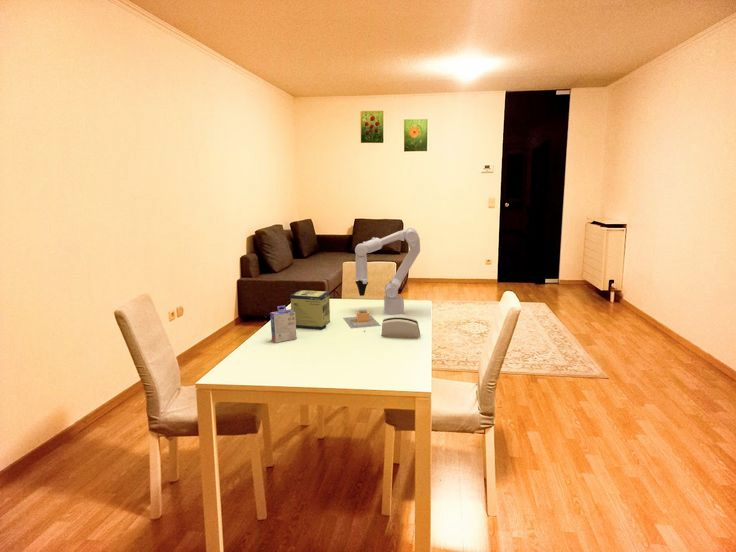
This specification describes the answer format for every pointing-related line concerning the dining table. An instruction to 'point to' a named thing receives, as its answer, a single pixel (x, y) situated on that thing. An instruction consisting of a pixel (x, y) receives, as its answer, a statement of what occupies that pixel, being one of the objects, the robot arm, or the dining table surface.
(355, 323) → the rail
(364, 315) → the module
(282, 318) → the ink cartridge box
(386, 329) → the beige rounded block
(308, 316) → the protein box
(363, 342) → the dining table surface
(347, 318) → the mount board
